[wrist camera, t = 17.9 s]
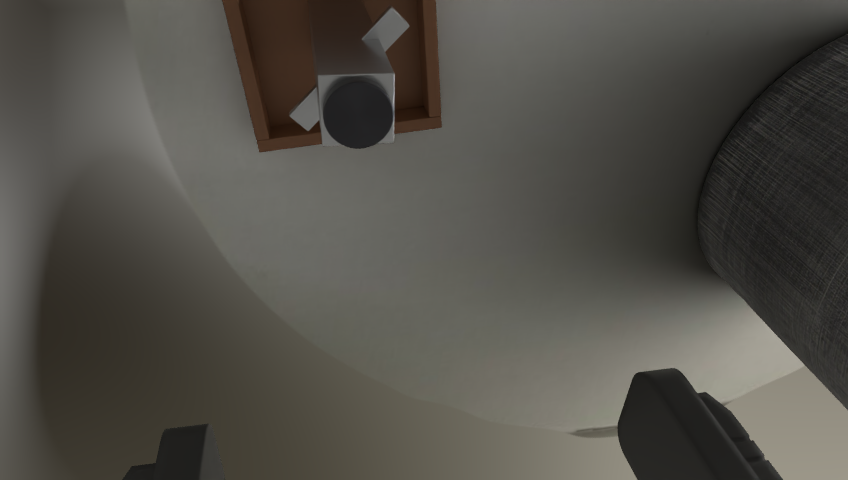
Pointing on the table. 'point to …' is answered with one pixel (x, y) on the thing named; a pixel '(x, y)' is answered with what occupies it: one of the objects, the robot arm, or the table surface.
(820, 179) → the planter
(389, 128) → the grey square bar
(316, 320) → the table surface
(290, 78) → the tray
